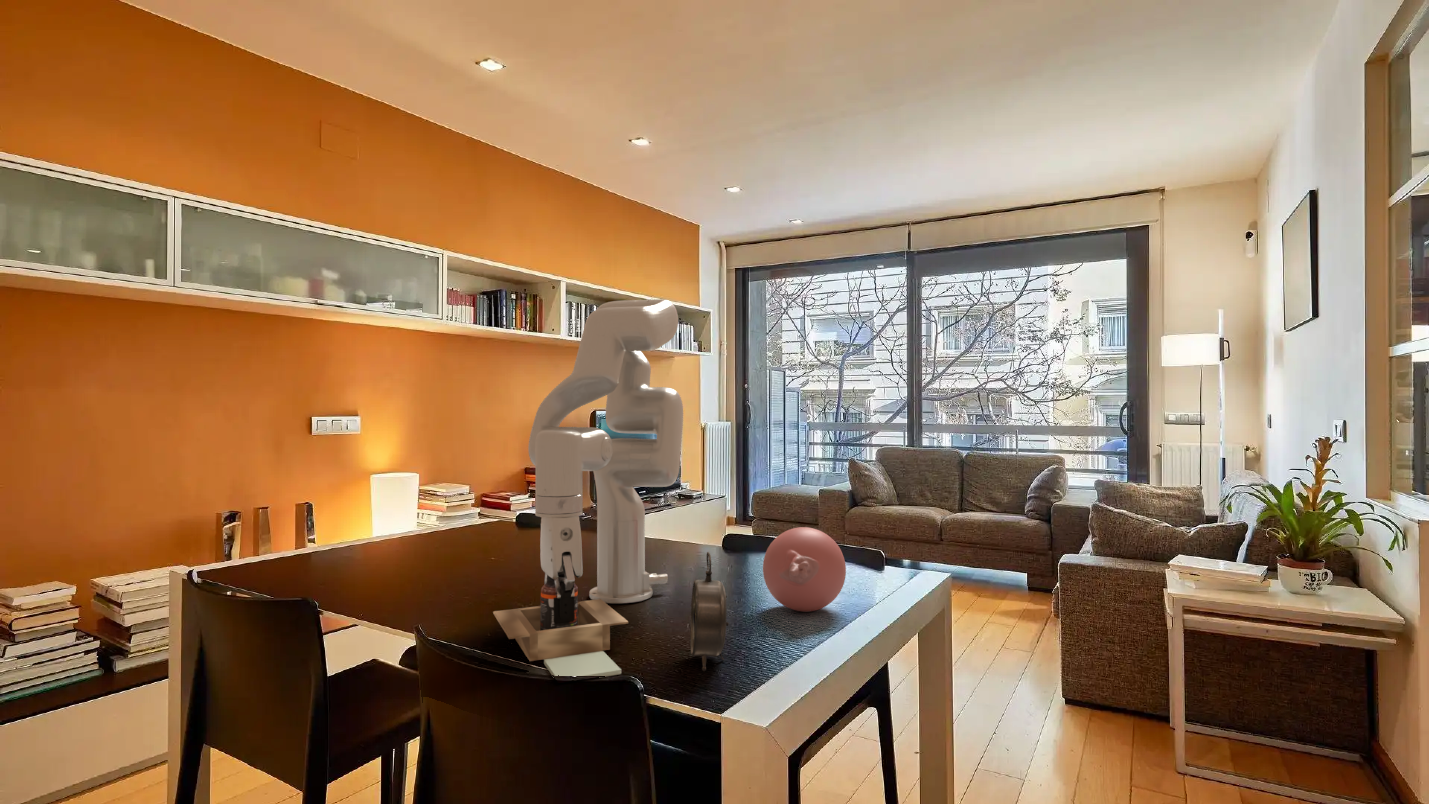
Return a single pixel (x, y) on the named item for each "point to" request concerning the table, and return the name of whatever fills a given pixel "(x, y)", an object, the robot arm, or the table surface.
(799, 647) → the table surface
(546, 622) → the supplement bottle
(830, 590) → the salmon rubber sphere
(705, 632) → the alarm clock
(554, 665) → the coaster
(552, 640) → the carton
